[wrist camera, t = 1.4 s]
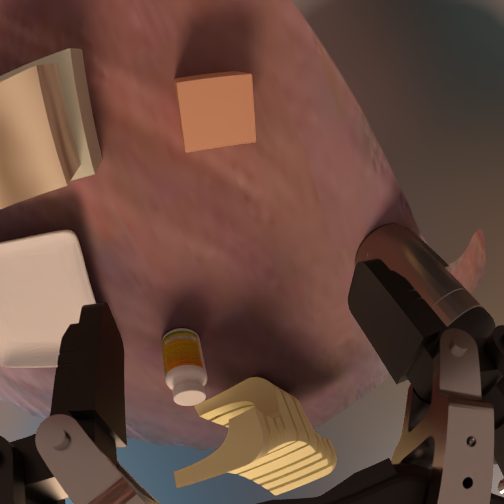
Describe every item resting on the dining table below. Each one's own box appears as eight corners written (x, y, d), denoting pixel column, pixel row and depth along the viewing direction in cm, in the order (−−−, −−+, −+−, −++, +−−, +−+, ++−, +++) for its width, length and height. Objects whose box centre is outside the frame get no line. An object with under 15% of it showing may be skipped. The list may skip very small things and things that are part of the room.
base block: (83, 49, 21) (70, 47, 17) (103, 158, 27) (94, 174, 24) (-14, 88, 19) (-37, 95, 15) (11, 186, 25) (-6, 205, 22)
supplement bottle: (154, 335, 41) (159, 395, 34) (189, 321, 41) (200, 382, 34) (172, 355, 45) (180, 412, 37) (205, 343, 45) (218, 400, 37)
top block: (56, 62, 17) (36, 65, 14) (80, 164, 23) (67, 185, 19) (-29, 104, 16) (-57, 116, 13) (-2, 194, 21) (-22, 218, 18)
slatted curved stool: (312, 400, 65) (342, 467, 51) (253, 430, 67) (275, 495, 53) (236, 349, 47) (270, 455, 33) (162, 391, 49) (176, 488, 35)
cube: (235, 70, 26) (251, 73, 21) (239, 126, 29) (256, 141, 24) (174, 78, 25) (176, 82, 20) (181, 134, 28) (185, 152, 23)
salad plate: (4, 353, 37) (0, 370, 34) (-57, 238, 25) (-69, 254, 22) (123, 346, 42) (122, 365, 39) (81, 212, 29) (74, 228, 27)
